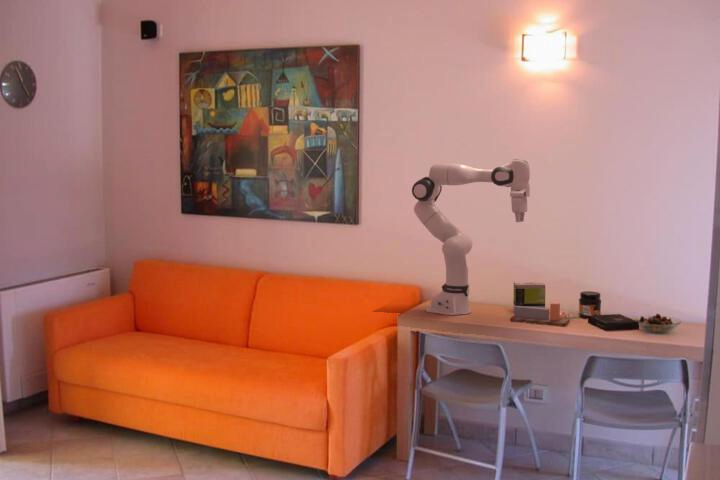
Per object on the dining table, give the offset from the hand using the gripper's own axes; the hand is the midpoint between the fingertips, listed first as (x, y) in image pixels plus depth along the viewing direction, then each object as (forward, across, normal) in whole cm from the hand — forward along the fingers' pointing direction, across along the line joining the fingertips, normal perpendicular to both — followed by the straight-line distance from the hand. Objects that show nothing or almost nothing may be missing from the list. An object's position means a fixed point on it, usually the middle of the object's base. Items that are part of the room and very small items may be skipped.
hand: (519, 221), depth 373 cm
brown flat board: (+48, -1, +10) cm, 49 cm away
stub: (+46, 0, +17) cm, 49 cm away
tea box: (+47, -22, +1) cm, 52 cm away
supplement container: (+47, -21, +31) cm, 60 cm away
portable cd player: (+49, -5, +43) cm, 66 cm away
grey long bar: (+46, -1, +6) cm, 47 cm away
